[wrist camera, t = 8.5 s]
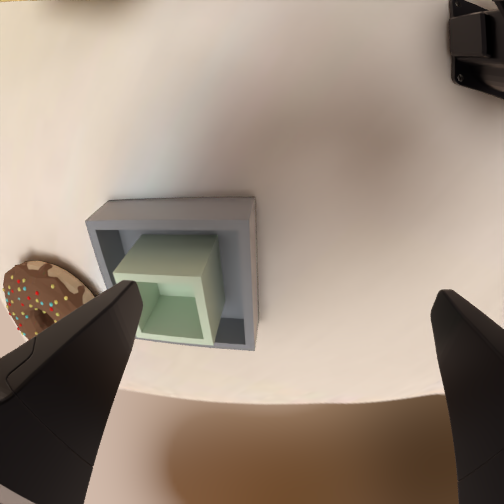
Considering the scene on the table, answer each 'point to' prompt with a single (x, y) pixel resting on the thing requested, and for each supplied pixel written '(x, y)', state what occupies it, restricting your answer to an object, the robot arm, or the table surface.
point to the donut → (42, 295)
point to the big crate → (190, 223)
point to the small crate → (176, 286)
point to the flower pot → (12, 0)
